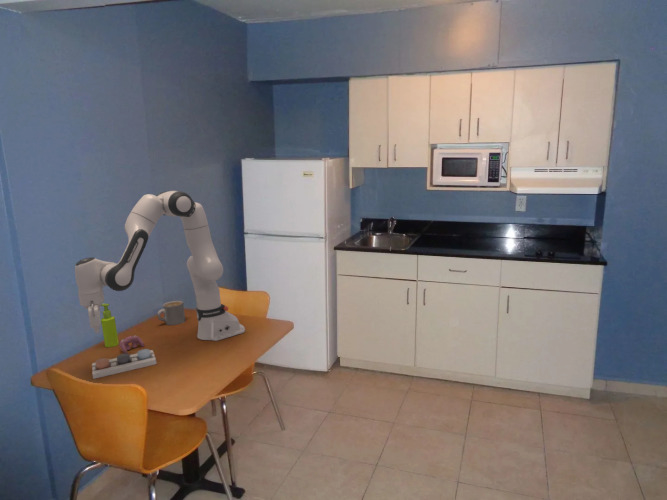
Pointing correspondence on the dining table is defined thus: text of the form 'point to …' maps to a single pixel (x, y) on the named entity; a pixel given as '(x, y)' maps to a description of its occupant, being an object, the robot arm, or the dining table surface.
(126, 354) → the charcoal button
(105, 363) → the terracotta button
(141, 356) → the pale blue button
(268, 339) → the dining table surface
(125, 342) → the video game controller
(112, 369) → the button board
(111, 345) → the soap dispenser
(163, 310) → the coffee mug
